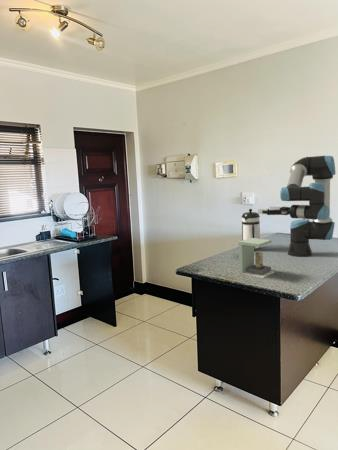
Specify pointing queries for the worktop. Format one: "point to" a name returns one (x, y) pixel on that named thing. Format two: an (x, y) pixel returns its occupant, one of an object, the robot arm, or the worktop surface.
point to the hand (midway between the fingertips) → (264, 210)
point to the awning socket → (252, 258)
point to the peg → (259, 260)
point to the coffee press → (250, 226)
